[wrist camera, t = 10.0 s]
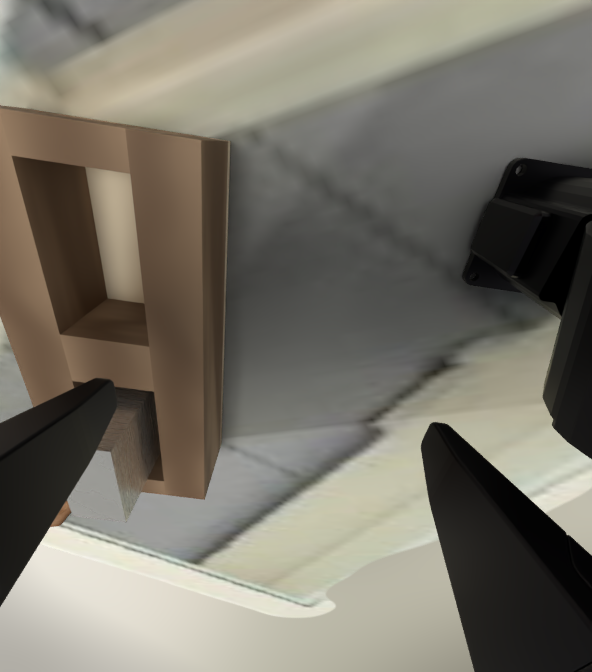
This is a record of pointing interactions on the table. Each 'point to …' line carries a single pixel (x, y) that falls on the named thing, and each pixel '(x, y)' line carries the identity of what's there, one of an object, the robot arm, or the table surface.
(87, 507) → the grey block
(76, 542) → the table surface
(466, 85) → the table surface
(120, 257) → the post block
